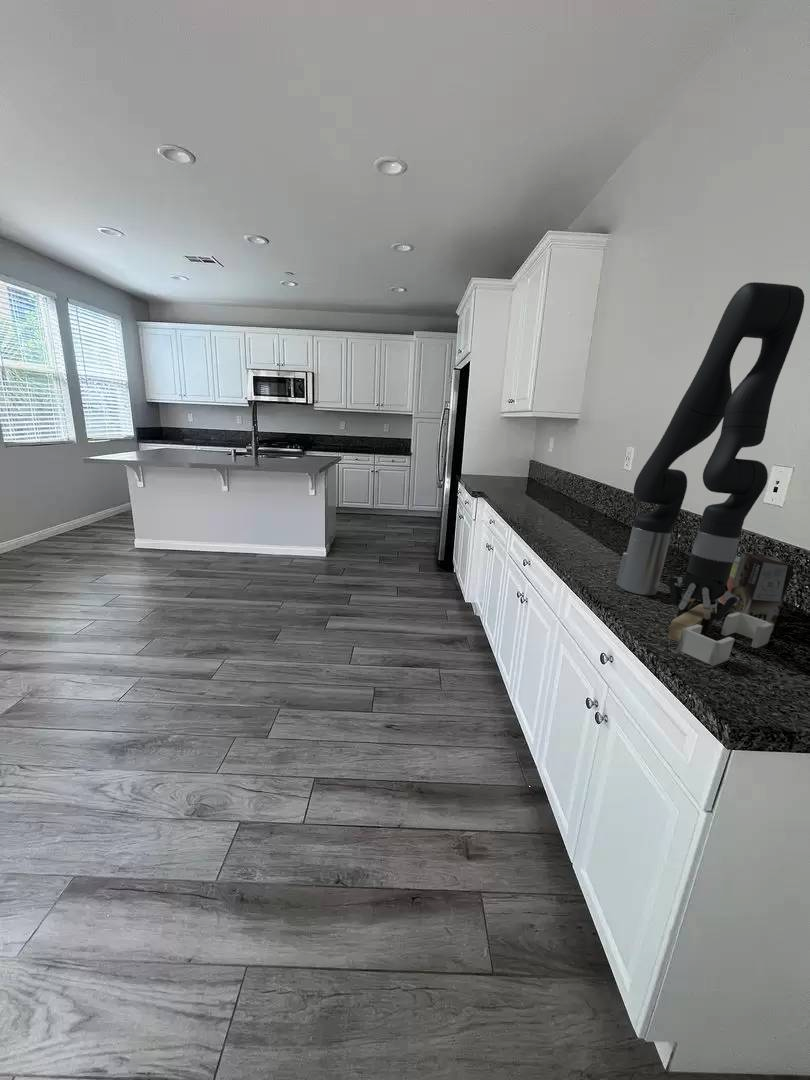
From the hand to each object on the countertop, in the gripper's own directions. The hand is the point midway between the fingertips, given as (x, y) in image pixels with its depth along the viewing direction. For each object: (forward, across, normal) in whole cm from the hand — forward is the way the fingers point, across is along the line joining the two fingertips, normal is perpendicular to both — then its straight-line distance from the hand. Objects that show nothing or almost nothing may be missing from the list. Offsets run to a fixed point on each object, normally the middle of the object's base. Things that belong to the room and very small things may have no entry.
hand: (691, 629), depth 96 cm
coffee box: (+1, +3, +20) cm, 20 cm away
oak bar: (+1, 0, 0) cm, 1 cm away
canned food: (+1, -3, +33) cm, 33 cm away
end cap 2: (0, +7, +8) cm, 11 cm away
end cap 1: (+1, +7, -10) cm, 12 cm away
